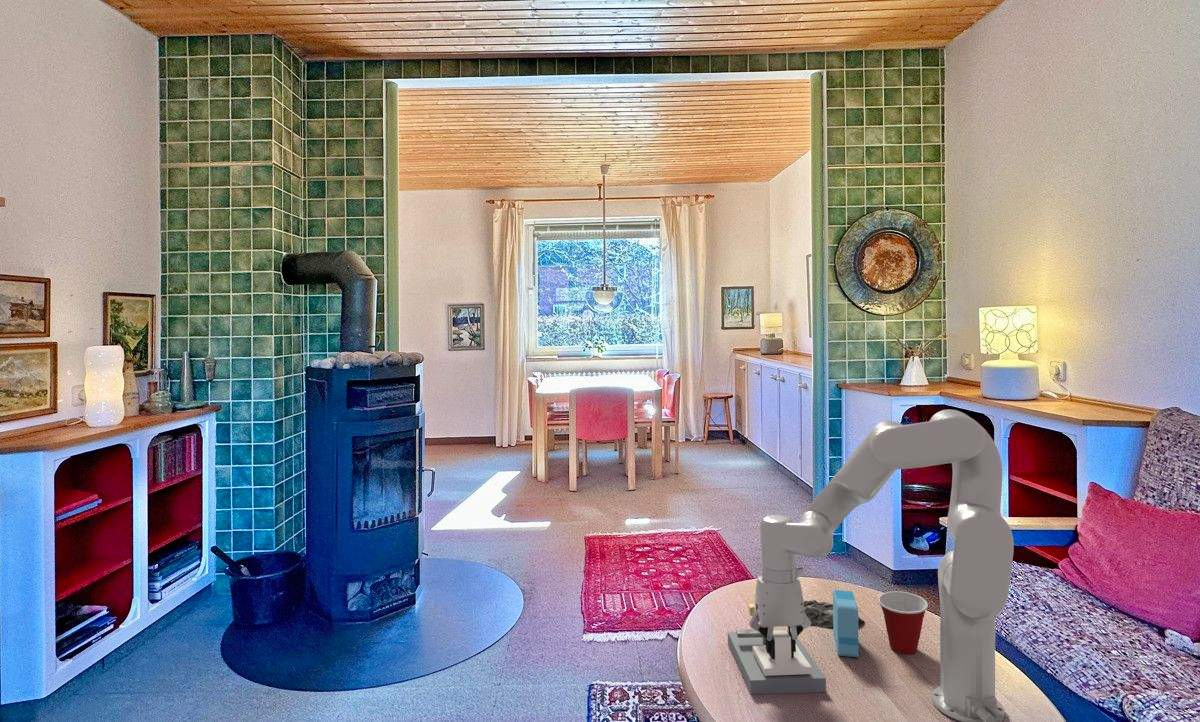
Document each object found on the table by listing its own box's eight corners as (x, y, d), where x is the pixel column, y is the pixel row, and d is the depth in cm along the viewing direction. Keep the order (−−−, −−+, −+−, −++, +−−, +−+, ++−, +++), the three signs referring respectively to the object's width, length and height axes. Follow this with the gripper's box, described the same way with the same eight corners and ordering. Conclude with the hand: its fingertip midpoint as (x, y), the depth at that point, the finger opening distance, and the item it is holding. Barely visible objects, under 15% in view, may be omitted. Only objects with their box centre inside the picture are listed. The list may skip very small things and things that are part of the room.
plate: (825, 692, 132) (825, 678, 132) (750, 694, 132) (750, 680, 132) (792, 642, 154) (792, 630, 154) (727, 643, 154) (727, 631, 154)
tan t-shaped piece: (738, 644, 147) (737, 607, 147) (736, 640, 149) (735, 604, 149) (784, 643, 147) (784, 606, 147) (782, 639, 149) (782, 603, 149)
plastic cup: (869, 647, 151) (868, 598, 150) (892, 634, 157) (892, 587, 157) (914, 665, 142) (914, 613, 141) (936, 650, 148) (936, 601, 148)
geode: (786, 603, 177) (791, 627, 163) (786, 590, 177) (791, 613, 163) (857, 608, 173) (868, 634, 159) (857, 595, 173) (868, 619, 159)
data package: (858, 660, 145) (858, 609, 144) (838, 658, 146) (837, 607, 146) (852, 636, 156) (851, 589, 156) (833, 634, 158) (832, 587, 157)
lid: (811, 673, 133) (810, 643, 133) (764, 675, 133) (764, 645, 132) (796, 650, 143) (795, 622, 143) (752, 652, 143) (751, 624, 142)
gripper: (810, 565, 141) (812, 645, 142) (737, 568, 141) (739, 648, 141) (822, 578, 134) (824, 662, 134) (745, 581, 133) (747, 665, 134)
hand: (780, 654), depth 138 cm, fingers closed on lid, 3 cm apart
